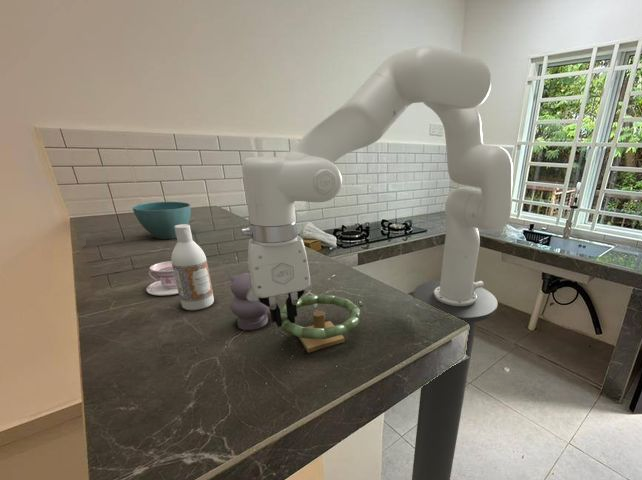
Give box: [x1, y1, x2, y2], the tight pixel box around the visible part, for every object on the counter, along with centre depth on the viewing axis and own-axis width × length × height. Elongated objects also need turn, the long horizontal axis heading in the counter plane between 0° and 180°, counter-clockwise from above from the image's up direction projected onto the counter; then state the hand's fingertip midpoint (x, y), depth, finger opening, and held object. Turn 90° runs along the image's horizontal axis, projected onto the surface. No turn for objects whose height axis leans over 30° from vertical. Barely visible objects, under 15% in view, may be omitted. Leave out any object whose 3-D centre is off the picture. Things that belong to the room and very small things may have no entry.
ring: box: [280, 294, 361, 339], centre depth 68 cm, size 17×17×2 cm
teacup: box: [145, 260, 179, 297], centre depth 87 cm, size 12×12×6 cm
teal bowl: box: [132, 201, 192, 240], centre depth 127 cm, size 18×18×12 cm
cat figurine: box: [227, 272, 270, 331], centre depth 72 cm, size 8×8×12 cm
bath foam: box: [170, 224, 215, 311], centre depth 76 cm, size 7×7×20 cm
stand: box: [298, 310, 346, 354], centre depth 69 cm, size 8×8×6 cm
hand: (284, 321), depth 64 cm, fingers closed on ring, 2 cm apart
